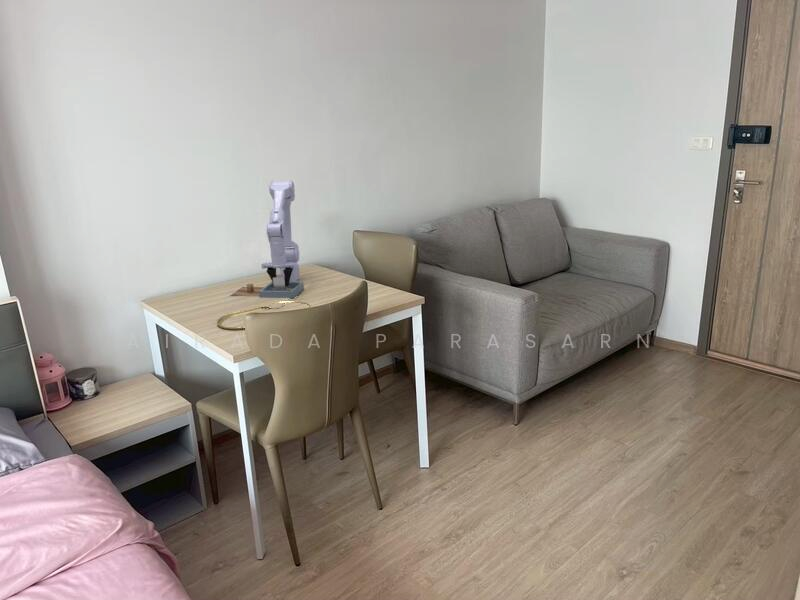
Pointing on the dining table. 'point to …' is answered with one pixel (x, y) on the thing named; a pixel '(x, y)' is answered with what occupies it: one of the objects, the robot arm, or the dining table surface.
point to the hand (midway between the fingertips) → (281, 285)
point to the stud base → (244, 292)
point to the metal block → (280, 283)
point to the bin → (296, 287)
